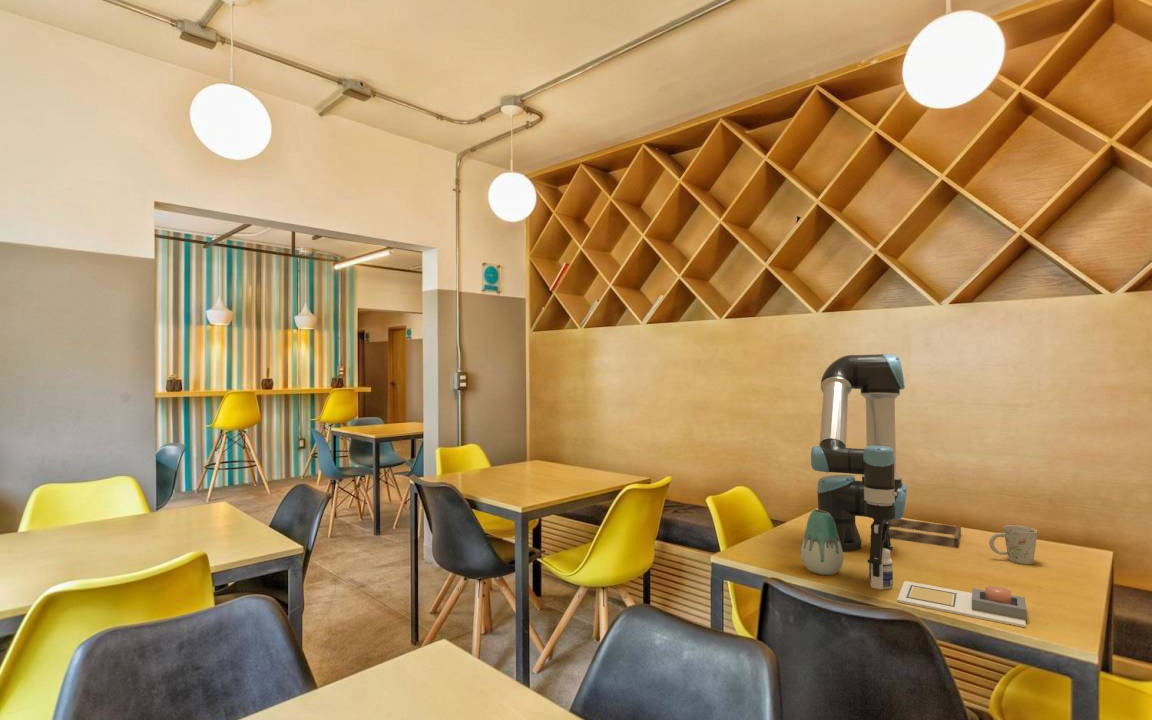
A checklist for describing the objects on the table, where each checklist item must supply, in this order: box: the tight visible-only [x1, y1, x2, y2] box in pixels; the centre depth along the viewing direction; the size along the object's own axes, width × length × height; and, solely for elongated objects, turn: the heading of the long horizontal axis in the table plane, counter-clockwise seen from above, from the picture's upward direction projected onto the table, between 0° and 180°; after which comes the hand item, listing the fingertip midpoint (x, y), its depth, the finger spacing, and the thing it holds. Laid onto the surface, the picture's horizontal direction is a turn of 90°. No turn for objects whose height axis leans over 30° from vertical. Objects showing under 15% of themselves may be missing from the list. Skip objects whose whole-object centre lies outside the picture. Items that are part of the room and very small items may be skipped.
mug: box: [988, 524, 1038, 565], centre depth 178 cm, size 8×13×10 cm, turn 78°
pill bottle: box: [868, 548, 894, 590], centre depth 158 cm, size 6×6×10 cm
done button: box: [985, 585, 1012, 605], centre depth 141 cm, size 5×5×3 cm
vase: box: [800, 509, 844, 576], centre depth 170 cm, size 12×12×18 cm
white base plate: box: [896, 580, 1028, 629], centre depth 146 cm, size 26×16×3 cm, turn 54°
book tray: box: [889, 518, 962, 549], centre depth 205 cm, size 23×18×3 cm
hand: (881, 580), depth 158 cm, fingers open, 13 cm apart
